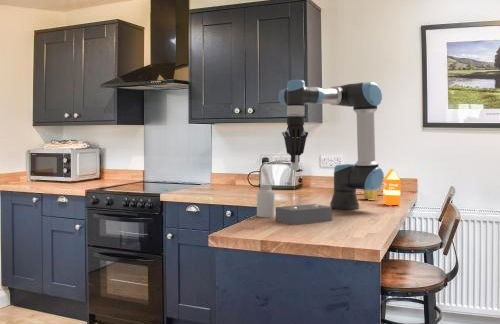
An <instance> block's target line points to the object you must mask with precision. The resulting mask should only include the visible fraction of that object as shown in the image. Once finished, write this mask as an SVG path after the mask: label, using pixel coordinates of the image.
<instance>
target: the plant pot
mask: <svg viewBox="0 0 500 324" xmlns="http://www.w3.org/2000/svg"><path fill="white" fill-rule="evenodd" d="M380 188H381V186H380V187H379V188H378V189H377V190H374V191H372V190H369V191H367V190H362V192H363V196H364V200H365V199H378V196H379V195H378V194H379V191H380Z"/></svg>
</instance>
